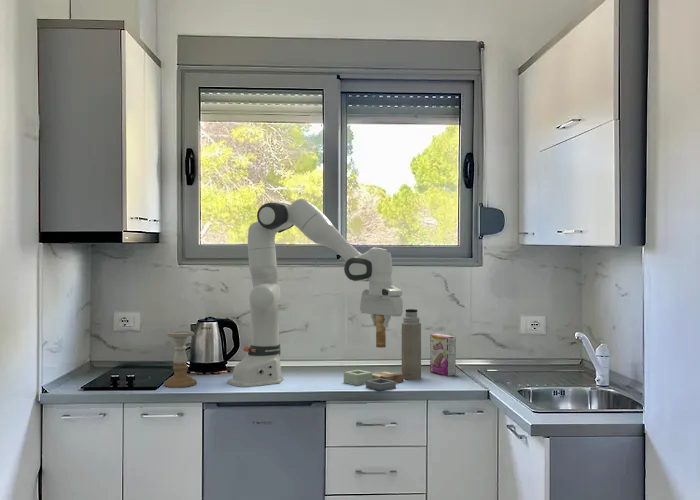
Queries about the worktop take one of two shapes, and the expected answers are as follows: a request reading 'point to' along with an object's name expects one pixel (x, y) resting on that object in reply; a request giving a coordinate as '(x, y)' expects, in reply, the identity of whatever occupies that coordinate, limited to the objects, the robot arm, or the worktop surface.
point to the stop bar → (394, 377)
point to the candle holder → (180, 361)
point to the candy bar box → (443, 354)
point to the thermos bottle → (411, 345)
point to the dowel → (380, 332)
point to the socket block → (357, 377)
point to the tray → (381, 384)
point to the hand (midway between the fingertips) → (380, 326)
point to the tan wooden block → (377, 375)
